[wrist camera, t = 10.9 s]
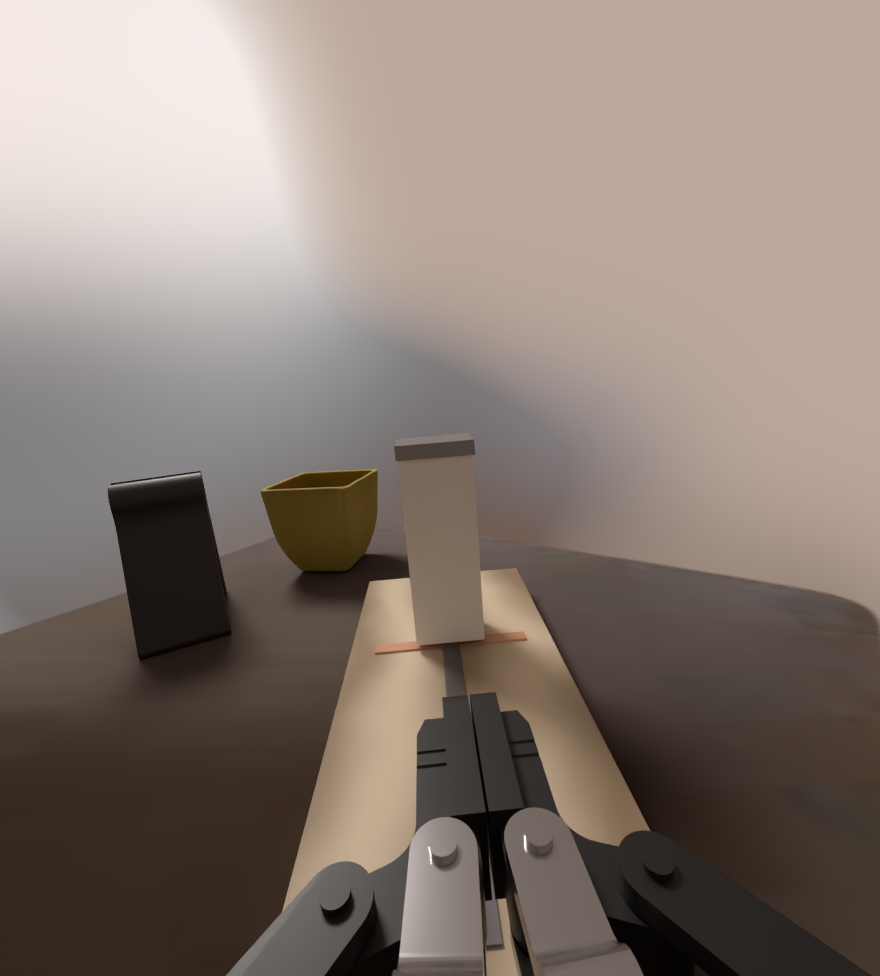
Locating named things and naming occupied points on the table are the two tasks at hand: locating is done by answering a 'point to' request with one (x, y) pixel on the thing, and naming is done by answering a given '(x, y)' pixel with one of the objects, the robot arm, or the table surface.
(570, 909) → the robot arm
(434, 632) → the fader knob
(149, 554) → the phone stand
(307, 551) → the flower pot
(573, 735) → the wooden slider board
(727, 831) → the table surface
